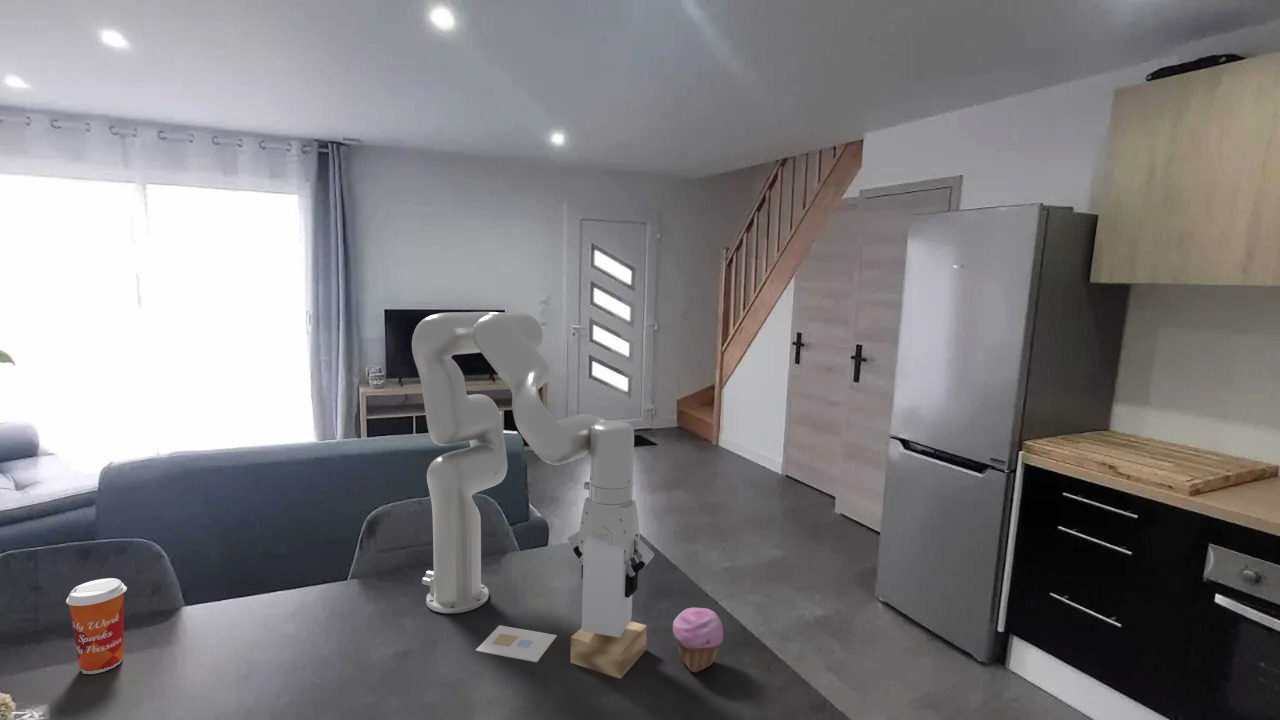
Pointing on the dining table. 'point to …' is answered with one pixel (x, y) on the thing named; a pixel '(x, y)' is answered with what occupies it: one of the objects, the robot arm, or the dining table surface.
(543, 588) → the dining table surface
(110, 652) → the paper cup
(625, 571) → the milk carton
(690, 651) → the cupcake
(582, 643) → the oak brick
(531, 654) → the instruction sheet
